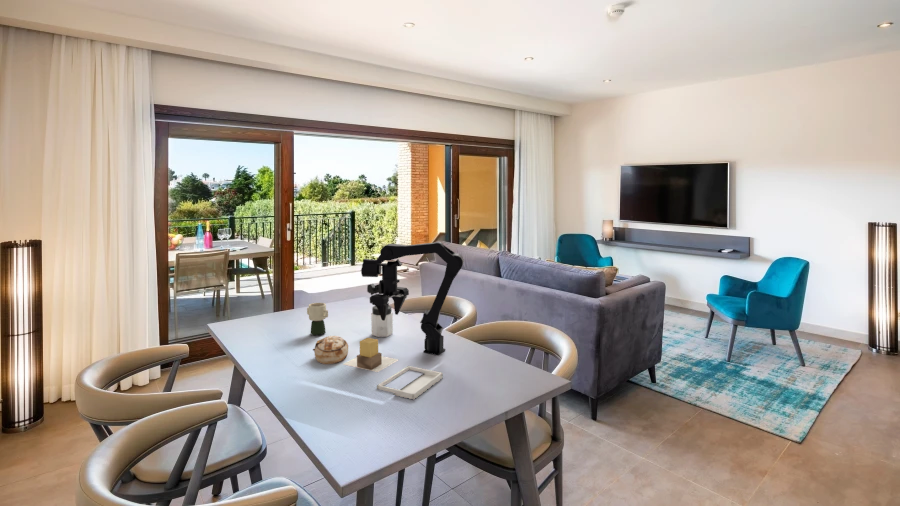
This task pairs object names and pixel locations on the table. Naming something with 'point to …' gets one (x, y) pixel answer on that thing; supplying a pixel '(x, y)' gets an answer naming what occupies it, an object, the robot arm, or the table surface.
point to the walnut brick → (369, 361)
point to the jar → (381, 323)
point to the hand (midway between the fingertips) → (390, 317)
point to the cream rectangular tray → (413, 383)
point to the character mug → (317, 317)
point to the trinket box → (331, 350)
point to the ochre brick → (368, 347)
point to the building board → (385, 363)
